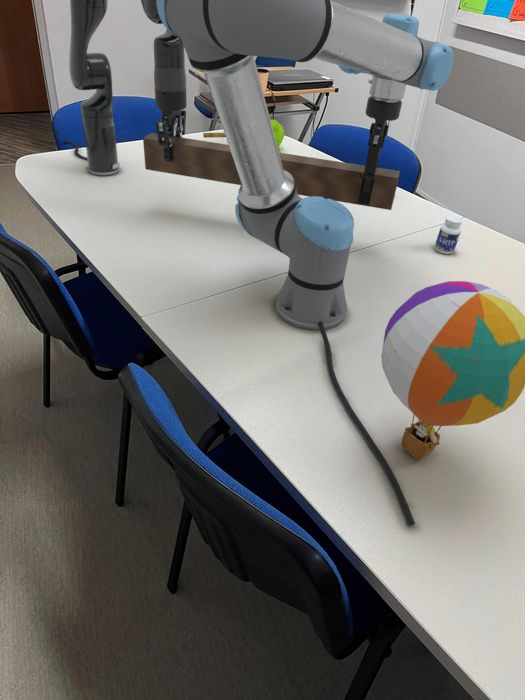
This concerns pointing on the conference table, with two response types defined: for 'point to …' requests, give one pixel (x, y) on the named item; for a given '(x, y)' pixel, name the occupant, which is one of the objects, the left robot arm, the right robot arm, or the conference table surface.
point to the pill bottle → (448, 235)
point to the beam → (306, 171)
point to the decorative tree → (276, 127)
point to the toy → (453, 358)
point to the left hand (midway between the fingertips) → (172, 157)
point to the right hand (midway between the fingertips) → (364, 198)
